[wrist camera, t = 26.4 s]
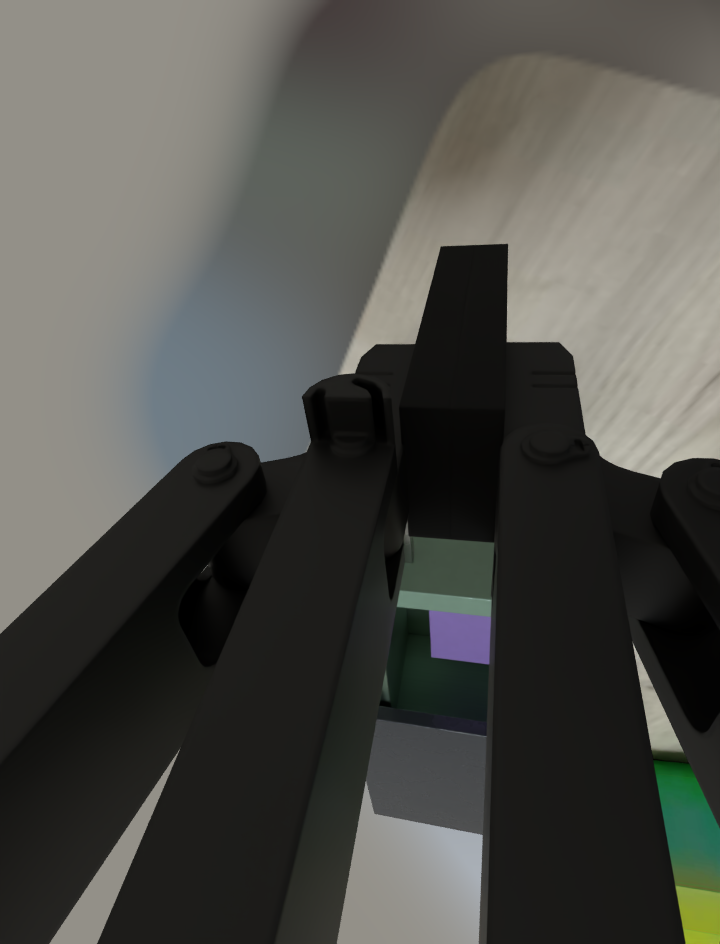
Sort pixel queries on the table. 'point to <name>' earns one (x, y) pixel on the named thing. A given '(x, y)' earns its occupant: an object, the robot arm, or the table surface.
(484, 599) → the green drawer
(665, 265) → the table surface
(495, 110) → the table surface
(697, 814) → the apple
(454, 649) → the purple cube
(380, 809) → the charcoal drawer box
